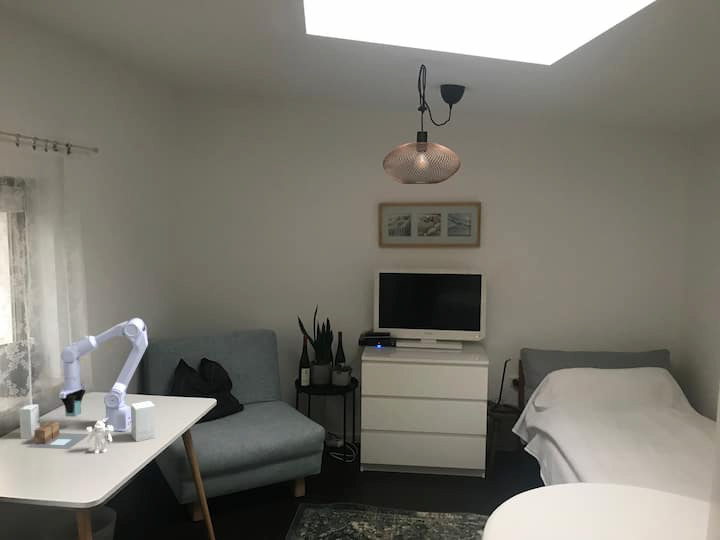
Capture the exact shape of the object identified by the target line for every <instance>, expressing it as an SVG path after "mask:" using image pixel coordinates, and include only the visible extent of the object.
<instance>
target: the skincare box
mask: <svg viewBox="0 0 720 540" xmlns="http://www.w3.org/2000/svg"><path fill="white" fill-rule="evenodd" d="M39 411H40V409H39V404H37V403H36V404H26V405H24V406H23V407H21V408H20V409H19V411H18V412H19V413H18V414H19V427H20V439H21V440H22V439H26V440H27V439H29V440H31V439H33V438H35V435H34V430H35V429H37V428H39V427H41V425H40V412H39Z"/></svg>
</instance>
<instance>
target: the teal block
mask: <svg viewBox="0 0 720 540" xmlns="http://www.w3.org/2000/svg"><path fill="white" fill-rule="evenodd" d="M64 410H65V411H64V412H65V413H64V414H65V417H67V418H68V417H69V418H70V417H71V418H73V417H74V418H75V417H77V416H79V415H80V414H82V401H75V402H74V411H73V413H67V411H66V408H65V407H64Z"/></svg>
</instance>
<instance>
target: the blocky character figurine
mask: <svg viewBox="0 0 720 540" xmlns="http://www.w3.org/2000/svg"><path fill="white" fill-rule="evenodd" d="M107 419H108V417H107V418H106V417H105V418H102V420H97V422H96V423H95V424H94V425H93V426H94V427H93V426H87V427H86V429H85V434H88V435H89V436H88V439H87V441H86V443H87V444H88V445H90V442H92V439H93V437H95V441H94V452H93V453H97V454H99V453H100V452H101V453H102V454H104V452H105V453H106V451H108V450H107V446H106V442H107V441H108V442H109V444H110V443H112V442H113V437H112V435H111V432H114V429H113V427H112V425H111V426H110V425H107V427H106V420H107ZM106 437H107V439H106ZM100 445H101V450H100Z"/></svg>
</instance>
